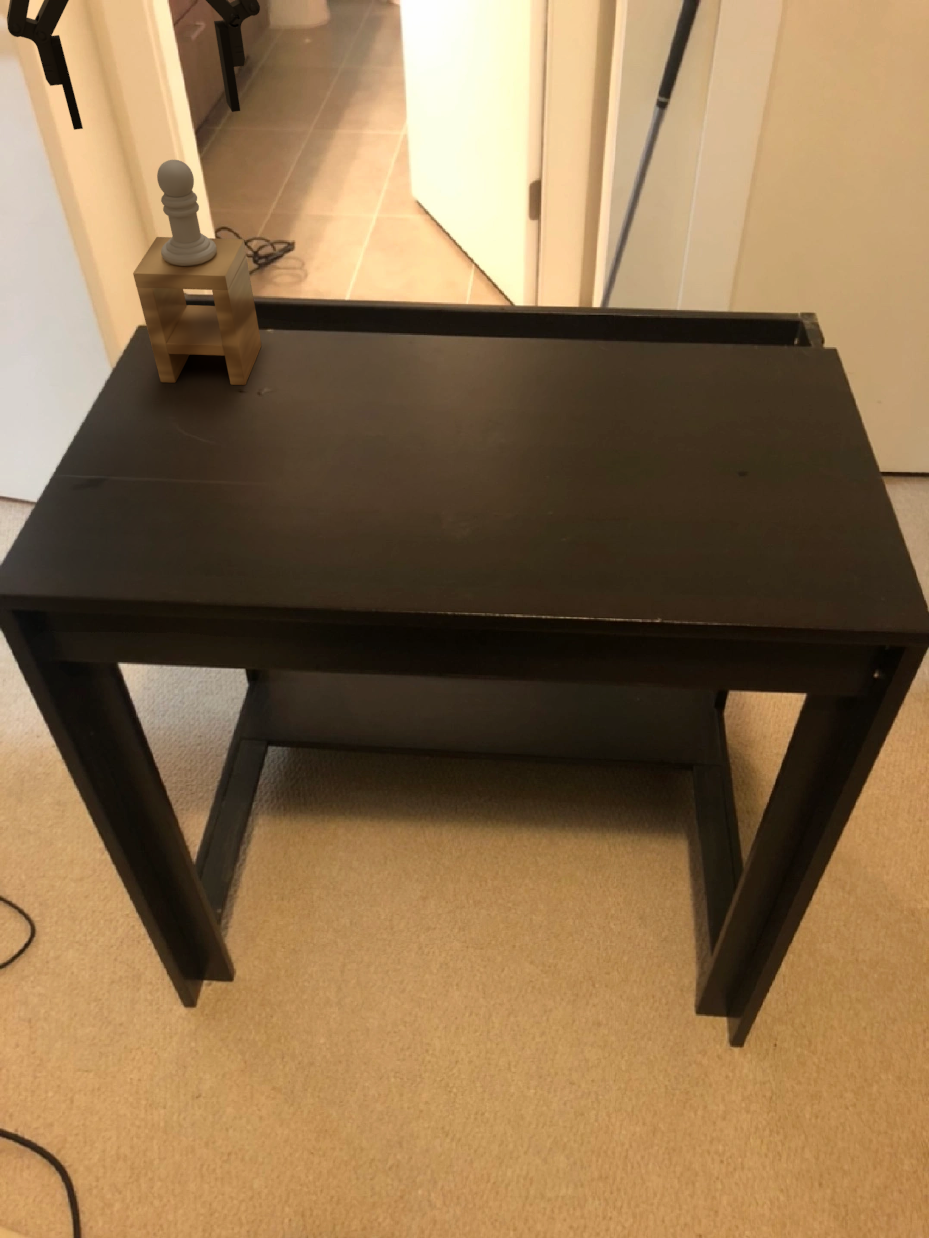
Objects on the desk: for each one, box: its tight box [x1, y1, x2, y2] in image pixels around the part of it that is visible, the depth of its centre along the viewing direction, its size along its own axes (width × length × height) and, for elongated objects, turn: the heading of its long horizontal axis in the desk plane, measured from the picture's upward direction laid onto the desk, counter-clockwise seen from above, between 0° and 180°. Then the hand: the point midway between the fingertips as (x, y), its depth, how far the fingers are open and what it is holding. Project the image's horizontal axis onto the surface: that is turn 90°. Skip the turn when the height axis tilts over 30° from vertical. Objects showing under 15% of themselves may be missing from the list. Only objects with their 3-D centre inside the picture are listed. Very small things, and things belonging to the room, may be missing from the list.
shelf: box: [132, 236, 262, 386], centre depth 101 cm, size 9×8×12 cm
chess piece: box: [156, 159, 217, 266], centre depth 93 cm, size 5×5×9 cm
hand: (156, 116), depth 87 cm, fingers open, 13 cm apart
